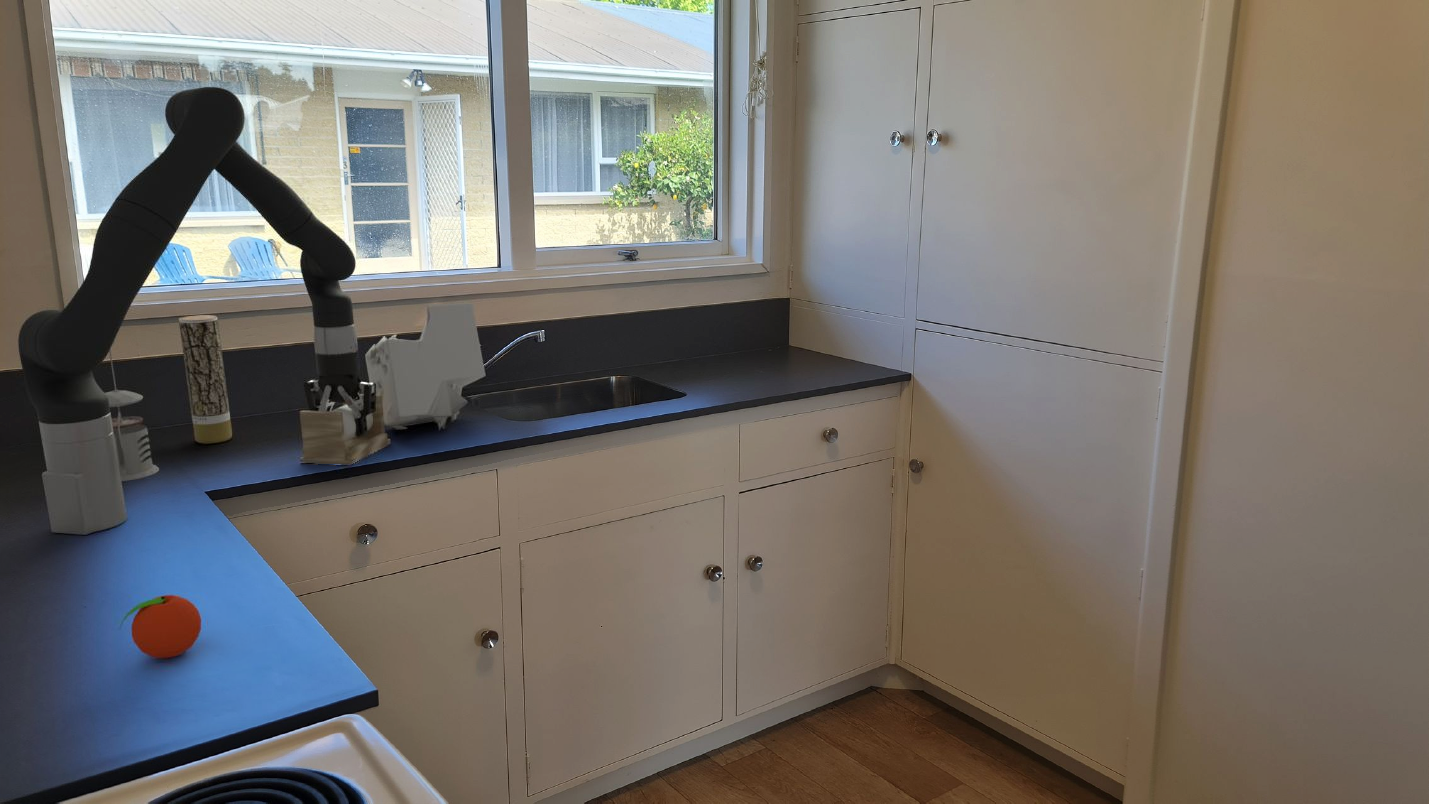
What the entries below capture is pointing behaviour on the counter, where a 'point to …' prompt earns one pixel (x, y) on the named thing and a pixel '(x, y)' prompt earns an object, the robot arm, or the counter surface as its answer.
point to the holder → (339, 437)
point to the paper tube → (205, 378)
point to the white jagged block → (428, 368)
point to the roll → (351, 422)
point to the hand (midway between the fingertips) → (344, 434)
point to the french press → (130, 437)
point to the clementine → (165, 626)
